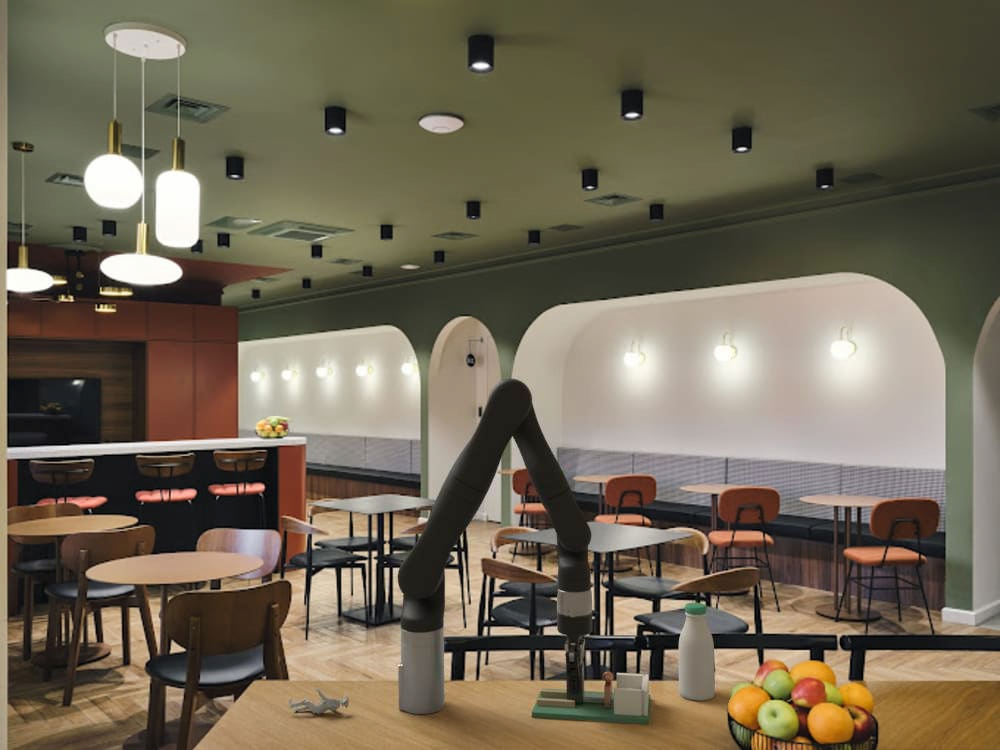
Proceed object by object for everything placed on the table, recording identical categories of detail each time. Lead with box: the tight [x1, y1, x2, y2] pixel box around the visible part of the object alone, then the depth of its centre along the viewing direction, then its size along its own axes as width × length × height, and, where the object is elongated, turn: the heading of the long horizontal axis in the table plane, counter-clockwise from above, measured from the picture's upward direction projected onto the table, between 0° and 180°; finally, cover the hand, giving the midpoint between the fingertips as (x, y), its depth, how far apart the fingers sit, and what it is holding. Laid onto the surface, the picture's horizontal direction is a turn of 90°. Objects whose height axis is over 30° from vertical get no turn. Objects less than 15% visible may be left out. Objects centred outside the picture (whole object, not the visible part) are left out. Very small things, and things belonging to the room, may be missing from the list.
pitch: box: [531, 688, 651, 725], centre depth 186 cm, size 24×14×2 cm, turn 79°
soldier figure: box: [288, 687, 350, 715], centre depth 185 cm, size 8×5×12 cm
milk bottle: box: [678, 602, 716, 702], centre depth 193 cm, size 8×8×20 cm
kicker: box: [565, 661, 614, 708], centre depth 186 cm, size 10×6×8 cm, turn 79°
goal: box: [613, 672, 650, 716], centre depth 184 cm, size 7×10×5 cm, turn 169°
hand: (575, 689), depth 187 cm, fingers closed on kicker, 3 cm apart
